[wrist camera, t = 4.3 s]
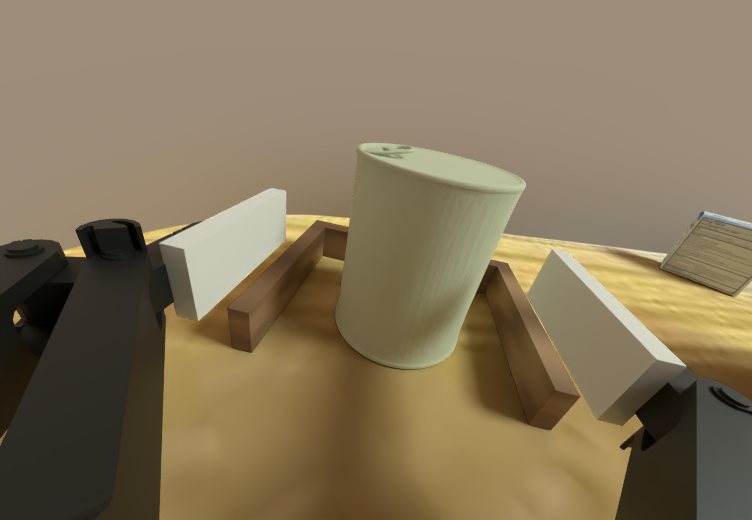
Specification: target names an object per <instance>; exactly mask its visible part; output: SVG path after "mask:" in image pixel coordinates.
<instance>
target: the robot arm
mask: <svg viewBox="0 0 752 520" xmlns="http://www.w3.org/2000/svg"><path fill="white" fill-rule="evenodd" d="M75 231H76V233H77V236H78V238H79V240H80V243H81V245H82V248H83V250H84V253H85V255H86V257H65V254H64V252H63V250H62V248H61V246H60V244H59V243H58V242H55V241H52V240H42V239H41V240H32V239H27V240H22V241H20V240H19V241H14V242H11V243H10V244H6V245H2V246H0V438H1V437H2V435H3V434H4V433H5V431H6V430H7V429H8V430H7V433H6V435H5V437H4V439H3V441H2V444H1V446H0V520H159V508H160V478H161V448H162V419H163V389H164V359H165V329H166V316H165V313H164V309H165V308H166V307H167V306H169V305H170V304H171V303H174V307H175V311H176V315H177V316H179V317H183V318H187V319H191V320H195V321H199V320H200V319H201V318H202V317H203V316H205V315H206V314H207V313H208V312H209V311H210V310H211V309H212V308H213V307H214V306H215V305H216V304H218V303H219V302H220V301H221V300H222V299H223V298H224V297H225V296H226V295H227V294H228V293H229V292H231V291H232V290H233V289H234V288H235V287H236V286H237V285H238V284H239V283H240V282H241V281H242V280H243V279H245V278H246V277H247V276H248V275H249V274H250V273H251V272H252V271H253V270H254V269H255V268H256V267H258V266H259V265H260V264H261V263H262V262H263V261H264V260H265V259H266V258H267V257H268V256H269V255H271V254H272V253H273V252H274V251H275V250H276V249H277V248H278V247H279V246H280V245H281V244H282V243H283V242H285V241H286V191H283V190H279V189H274V188H270V189H268V190H266V191H264V192H262V193H260V194H258V195H256V196H254V197H252V198H250V199H248V200H245V201H243V202H242V203H240V204H237V205H235V206H233V207H231V208H229V209H227V210H225V211H223V212H221V213H219V214H217V215H215V216H213V217H211V218H209V219H207V220H205V221H200V222H196V223H192V224H190V225H188V226H186V227H184V228H182V230H178V231H175V232H173V234H169V235H167V236H165V237H163V238H161V239H159V240H157V241H154V242H152V243H150V244H148V245H146V244H145V240H144V236H143V233H142V229H141V226H140V224H139V223H138V222H136V221H134V220H128V219H105V220H98V221H93V222H89V223H87V224H84V225H81V226H80V227H78V228H77V229H76V230H75ZM526 296H527V297H528V299H529V301H530V303H531V304H532V306H533V308H534V310H535V312H536V313H537V315H538V317H539V319H540V320H541V322H542V324H543V326H544V327H545V329H546V331H547V333H548V334H549V336H550V338H551V340H552V341H553V343H554V345H555V347H556V349H557V350H558V352H559V354H560V356H561V357H562V359H563V361H564V363H565V364H566V366H567V368H568V370H569V371H570V373H571V375H572V377H573V378H574V380H575V382H576V384H577V386H578V387H579V389H580V391H581V393H582V394H583V396H584V398H585V400H586V401H587V403H588V405H589V407H590V408H591V410H592V412H593V414H594V415H595V417H596V419H597V420H600V421H604V422H608V423H612V424H616V425H620V426H623V425H624V424H625V423H626V422H627V421H628V420H629V419H630V418H631V417H632V416H633V415H635V414H636V415H637V417H638V418H639V420H640V421H641V422H642V424H643V426H642V427H641V428H640V429H639V430H638V431H636V432H635V433H634V434H633V435H632V436H631V437H630V438H628V439H627V440H626V441H625V442H624V443H623V444H622V445H621V446H620V448H621V449H623V450H625V449H626V448H627V447H632V449H631V453H630V458H629V462H628V466H627V471H626V475H625V479H624V484H623V488H622V492H621V497H620V501H619V505H618V510H617V514H616V518H615V520H752V401H751V400H749V399H748V398H747V397H745V396H744V395H742V394H741V393H739V392H738V391H736V390H734V389H732V388H731V387H729V386H727V385H725V384H722V383H720V382H718V381H715V380H712V379H709V378H699V377H698V376H697V375H695V374H694V373H693V372H692V371H691V370H690V369H689V368H688V367H687V366H686V365H685V364H684V363H683V362H682V361H681V360H680V359H679V358H678V357H677V356H676V355H675V354H674V353H673V352H671V351H670V350H669V349H668V348H667V347H666V346H665V345H664V344H663V343H662V342H661V341H660V340H659V339H658V338H657V337H656V336H655V335H654V334H653V333H652V332H651V331H650V330H649V329H647V328H646V327H645V326H644V325H643V324H642V323H641V322H640V321H639V320H638V319H637V318H636V317H635V316H634V315H633V314H632V313H631V312H630V311H629V310H628V309H626V308H625V307H624V306H623V305H622V304H621V303H620V302H619V301H618V300H617V299H616V298H615V297H614V296H613V295H612V294H611V293H610V292H609V291H608V290H607V289H606V288H605V287H604V286H602V285H601V284H600V283H599V282H598V281H597V280H596V279H595V278H594V277H593V276H592V275H591V274H590V273H589V272H588V271H587V270H586V269H585V268H584V267H583V266H582V265H581V264H580V263H578V262H577V261H576V260H575V259H574V258H573V257H572V256H571V255H570V254H569V253H567V252H563V251H558V250H553V249H552V250H551V252H550V254H549V255H548V257H547V259H546V261H545V263H544V264H543V266H542V268H541V270H540V272H539V273H538V275H537V277H536V279H535V281H534V282H533V284H532V286H531V288H530V290H529V291H528V293H527V295H526ZM15 310H17V312H18V314H19V315H20V317H21V318H22V319H20V320H19V321H18V322H17V323H16V324H15V325H14V322H13V317H14V312H15Z"/></svg>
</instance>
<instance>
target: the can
mask: <svg viewBox="0 0 752 520" xmlns="http://www.w3.org/2000/svg"><path fill="white" fill-rule="evenodd" d="M525 187H526V183H525V182H524V180H523V179H522V178H520V177H518V176H516V175H514V174H512V173H510V172H508V171H505V170H503V169H500V168H497V167H494V166H491V165H488V164H485V163H481V162H478V161H475V160H471V159H467V158H463V157H459V156H455V155H451V154H447V153H442V152H438V151H433V150H428V149H422V148H416V147H412V146H409V145H396V144H385V143H366V144H361V145H359V146H358V148H357V164H356V174H355V182H354V191H353V199H352V208H351V216H350V223H349V231H348V238H347V246H346V253H345V260H344V268H343V275H342V282H341V288H340V295H339V300H338V302H337V305H336V308H335V320H336V324H337V327H338V329H339V331H340V333H341V335H342V336H343V338H344V339H345V340H346V342H347V343H348V344H349V345H350V346H351V347H352V348H354V349H355V350H356V351H357V352H359V353H360V354H362V355H363V356H365V357H367V358H368V359H370V360H372V361H374V362H377V363H379V364H382V365H385V366H389V367H393V368H399V369H422V368H428V367H431V366H434V365H436V364H438V363H440V362H442V361H444V360H445V359H446V358H447V357H448V356H449V355H450V354H451V353H452V352H453V350H454V348H455V346H456V344H457V340H458V334H459V332H460V329H461V327H462V324H463V322H464V319H465V317H466V314H467V312H468V310H469V307H470V305H471V303H472V301H473V298H474V296H475V294H476V291H477V289H478V287H479V285H480V282H481V280H482V278H483V276H484V273H485V271H486V269H487V267H488V264H489V262H490V260H491V258H492V255H493V253H494V251H495V249H496V246H497V244H498V242H499V240H500V237H501V235H502V233H503V231H504V229H505V226H506V224H507V222H508V220H509V218H510V216H511V213H512V211H513V209H514V207H515V205H516V202H517V201H518V199H519V197H520V195H521V193H522V192H523V190H524V189H525Z"/></svg>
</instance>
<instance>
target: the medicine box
mask: <svg viewBox="0 0 752 520" xmlns="http://www.w3.org/2000/svg"><path fill="white" fill-rule="evenodd" d="M660 269H663V270H666V271H668V272H671V273H674V274H676V275H679V276H682V277H684V278H687V279H690V280H692V281H695V282H698V283H700V284H703V285H706V286H708V287H711V288H714V289H716V290H719V291H722V292H724V293H727V294H730V295H732V296H737V295H738V294H739V293H740V292H741V291H742V290H743V289H744V288H745V287H746V286H747V285H748V284H749V283H750V282H751V281H752V223H748V222H744V221H741V220H737V219H733V218H729V217H725V216H721V215H717V214H713V213H709V212H705V211H704V212H701V213H700V214H699V216H698V217H697V218H696V219H695V220H694V222H693V223H692V224H691V226H690V227H689V228H688V229H687V230H686V232H685V233H684V234H683V236H682V237H681V238H680V239H679V241H678V242H677V243H676V244H675V246H674V247H673V248H672V250H671V251H670V252H669V253H668V254H667V256H666V257H665V258H664V260H663V261H662V264H661V266H660Z"/></svg>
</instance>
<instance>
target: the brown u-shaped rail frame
mask: <svg viewBox="0 0 752 520" xmlns="http://www.w3.org/2000/svg"><path fill="white" fill-rule="evenodd" d="M348 231H349V227H345V226H341V225H337V224H332V223H328V222H323V221H319V220H317V221H316V222H315V223H314V224H313V225H312V226H311V227H310V228H309V229H308V230H306V231H305V232H304V233H303V234H302V235H301V236H300V237H299V238H298V239H297V240H296V241H295V242H294V243H293V244H292V245H291V246H290V247H289V248H288V249H287V250H286V251H285V252H284V253H283V254H282V255H281V256H280V257H279V258H278V259H277V260H276V261H275V262H274V263H273V264H272V265H271V266H270V267H269V268H268V269H267V270H266V271H265V272H264V273H262V274H261V275H260V276H259V277H258V278H257V279H256V280H255V281H254V282H253V283H252V284H251V285H250V286H249V287H248V288H247V289H246V290H245V291H244V292H243V293H242V294H241V295H240V296H239V297H238V298H237V299H236V300H235V301H234V302H233V303H232V304H231V305H230V306H229V307H228V308H227V310H228V318H229V326H230V334H231V342H232V348H236V349H240V350H244V351H248V352H251V353H252V352H253V350H254V349H255V347H256V346H257V345H258V343H259V342H260V341H261V339H262V338H263V336H264V335H265V334H266V332H267V331H268V330H269V328H270V327H271V326H272V324H273V323H274V321H275V320H276V319H277V317H278V316H279V315H280V313H281V312H282V310H283V309H284V308H285V306H286V305H287V304H288V302H289V301H290V299H291V298H292V297H293V295H294V294H295V293H296V291H297V290H298V288H299V287H300V286H301V284H302V283H303V282H304V280H305V279H306V278H307V276H308V275H309V273H310V272H311V271H312V269H313V268H314V267H315V265H316V264H317V262H318V261H319V260H320V258H321V257H322V256H323V255H324V256H328V257H332V258H336V259H341V260H345V253H346V246H347V238H348ZM477 292H481V293H485V294H486V297H487V300H488V303H489V306H490V309H491V312H492V315H493V318H494V321H495V324H496V327H497V330H498V333H499V336H500V339H501V342H502V345H503V348H504V351H505V354H506V357H507V360H508V363H509V366H510V369H511V372H512V375H513V378H514V381H515V384H516V387H517V391H518V394H519V397H520V400H521V403H522V406H523V409H524V412H525V415H526V418H527V421H528V424H529V425H533V426H537V427H541V428H544V429H548V430H551V429H552V428H553V427H554V426H555V425H556V424H557V423H558V422H559V420H560V419H561V418H562V417H563V416H564V415H565V414H566V412H567V411H568V410H569V409H570V408H571V407H572V406H573V405H574V403H575V402H576V401H577V400H578V399H579V398H580V397H581V396H580V395H579V393H578V391H577V389H576V387H575V386H574V384H573V382H572V380H571V378H570V376H569V375H568V373H567V371H566V369H565V367H564V365H563V364H562V362H561V360H560V358H559V356H558V354H557V353H556V351H555V349H554V347H553V345H552V344H551V342H550V340H549V338H548V336H547V334H546V333H545V331H544V329H543V327H542V325H541V323H540V322H539V320H538V318H537V316H536V314H535V313H534V311H533V309H532V307H531V305H530V303H529V302H528V300H527V298H526V296H525V294H524V292H523V291H522V289H521V287H520V285H519V283H518V281H517V280H516V278H515V276H514V274H513V272H512V271H511V269H510V267H509V265H508V263H504V262H499V261H495V260H490V262H489V264H488V267H487V269H486V271H485V273H484V276H483V278H482V280H481V282H480V285H479V287H478V289H477Z"/></svg>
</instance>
